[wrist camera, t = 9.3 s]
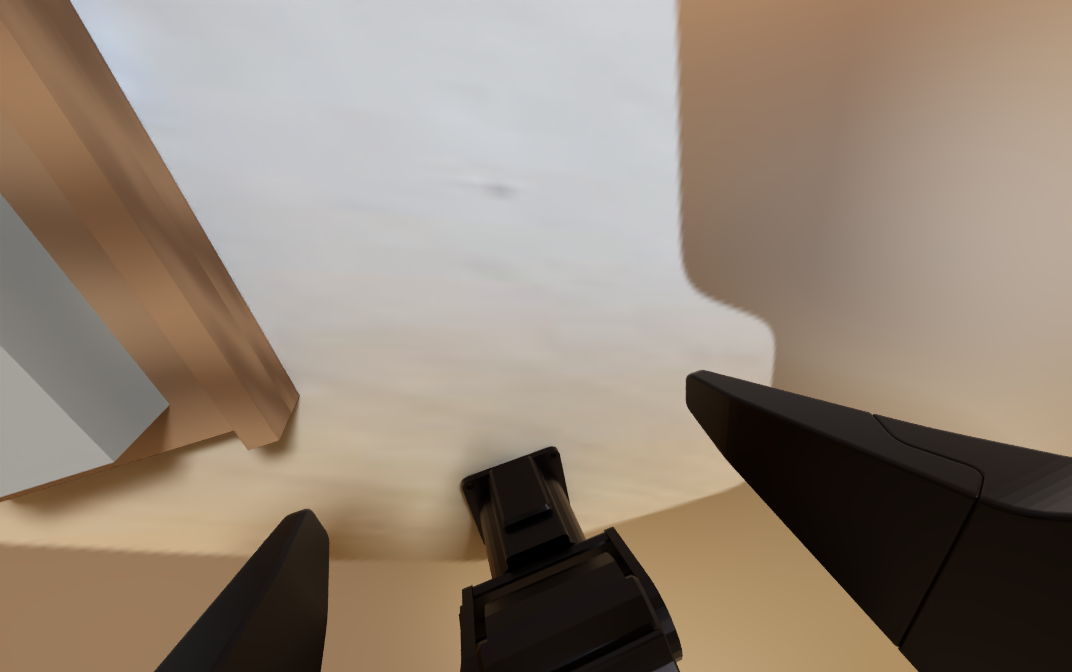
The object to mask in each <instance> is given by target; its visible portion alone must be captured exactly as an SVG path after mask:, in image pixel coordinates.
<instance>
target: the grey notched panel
mask: <svg viewBox="0 0 1072 672" xmlns="http://www.w3.org/2000/svg"><path fill="white" fill-rule="evenodd" d="M169 405H170V404H169V403H168V402H167V401H166V399H165V398H164V397H163V396H162V394H161V393H160V392H159V391H158V389H157V388H156V387H155V386H154V384H153V383H152V382H151V381H150V379H149V378H148V377H147V376H146V374H145V373H144V372H143V371H142V369H141V368H140V367H139V366H138V364H137V363H136V362H135V361H134V359H133V358H132V357H131V356H130V354H129V353H128V352H127V351H126V349H125V348H124V347H123V346H122V344H121V343H120V342H119V341H118V339H117V338H116V337H115V336H114V334H113V333H112V332H111V331H110V329H109V328H108V327H107V326H106V324H105V323H104V322H103V321H102V319H101V318H100V317H99V316H98V314H97V313H96V312H95V311H94V309H93V308H92V307H91V306H90V304H89V303H88V302H87V301H86V299H85V298H84V297H83V296H82V294H81V293H80V292H79V291H78V289H77V288H76V287H75V286H74V284H73V283H72V282H71V281H70V279H69V278H68V277H67V276H66V274H65V273H64V272H63V271H62V269H61V268H60V267H59V266H58V264H57V263H56V262H55V261H54V259H53V258H52V257H51V256H50V255H49V253H48V252H47V251H46V250H45V248H44V247H43V246H42V245H41V243H40V242H39V241H38V240H37V238H36V237H35V236H34V235H33V233H32V232H31V231H30V230H29V228H28V227H27V226H26V225H25V223H24V222H23V221H22V220H21V218H20V217H19V216H18V215H17V213H16V212H15V211H14V210H13V208H12V207H11V206H10V205H9V203H8V202H7V201H6V200H5V198H4V197H3V196H2V195H1V193H0V497H3V496H6V495H9V494H12V493H16V492H19V491H22V490H25V489H29V488H32V487H35V486H38V485H42V484H45V483H48V482H51V481H55V480H58V479H61V478H64V477H68V476H71V475H74V474H77V473H80V472H84V471H87V470H90V469H93V468H97V467H100V466H103V465H106V464H110V463H113V462H115V461H116V460H117V459H118V458H119V456H120V455H121V454H122V453H123V452H124V451H125V450H126V449H127V448H128V447H129V446H130V445H131V444H132V443H133V442H134V441H135V440H136V439H137V438H138V437H139V436H140V435H141V434H142V433H143V432H144V431H145V430H146V429H147V428H148V427H149V426H150V424H151V423H152V422H153V421H154V420H155V419H156V418H157V417H158V416H159V415H160V414H161V413H162V412H163V411H164V410H165V409H166V408H167V407H168V406H169Z"/></svg>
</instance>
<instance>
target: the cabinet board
mask: <svg viewBox="0 0 1072 672" xmlns="http://www.w3.org/2000/svg"><path fill="white" fill-rule="evenodd" d="M0 193H1V195H2V196H3V197H4V198H5V200H6V201H7V202H8V203H9V205H10V206H11V207H12V208H13V210H14V211H15V212H16V213H17V215H18V216H19V217H20V218H21V220H22V221H23V222H24V223H25V225H26V226H27V227H28V228H29V230H30V231H31V232H32V233H33V235H34V236H35V237H36V238H37V240H38V241H39V242H40V243H41V245H42V246H43V247H44V248H45V250H46V251H47V252H48V253H49V255H50V256H51V257H52V258H53V259H54V261H55V262H56V263H57V264H58V266H59V267H60V268H61V269H62V271H63V272H64V273H65V274H66V276H67V277H68V278H69V279H70V281H71V282H72V283H73V284H74V286H75V287H76V288H77V289H78V291H79V292H80V293H81V294H82V296H83V297H84V298H85V299H86V301H87V302H88V303H89V304H90V306H91V307H92V308H93V309H94V311H95V312H96V313H97V314H98V316H99V317H100V318H101V319H102V321H103V322H104V323H105V324H106V326H107V327H108V328H109V329H110V331H111V332H112V333H113V334H114V336H115V337H116V338H117V339H118V341H119V342H120V343H121V344H122V346H123V347H124V348H125V349H126V351H127V352H128V353H129V354H130V356H131V357H132V358H133V359H134V361H135V362H136V363H137V364H138V366H139V367H140V368H141V369H142V371H143V372H144V373H145V374H146V376H147V377H148V378H149V379H150V381H151V382H152V383H153V384H154V386H155V387H156V388H157V389H158V391H159V392H160V393H161V394H162V396H163V397H164V398H165V399H166V401H167V402H168V403H169V404H170V405H169V406H168V407H167V408H166V409H165V410H164V411H163V412H162V413H161V414H160V415H159V416H158V417H157V418H156V419H155V420H154V421H153V422H152V423H151V424H150V426H149V427H148V428H147V429H146V430H145V431H144V432H143V433H142V434H141V435H140V436H139V437H138V438H137V439H136V440H135V441H134V442H133V443H132V444H131V445H130V446H129V447H128V448H127V449H126V450H125V451H124V452H123V453H122V454H121V455H120V456H119V458H118V459H117V460H116V461H115V462H113V463H110V464H106V465H103V466H100V467H97V468H93V469H90V470H87V471H84V472H80V473H77V474H74V475H71V476H68V477H64V478H61V479H58V480H55V481H51V482H48V483H45V484H42V485H38V486H35V487H32V488H29V489H25V490H22V491H19V492H16V493H12V494H9V495H6V496H3V497H0V502H2V501H5V500H9V499H12V498H15V497H18V496H22V495H25V494H28V493H31V492H35V491H38V490H41V489H45V488H48V487H51V486H54V485H58V484H61V483H64V482H67V481H71V480H74V479H77V478H80V477H84V476H87V475H90V474H94V473H97V472H100V471H103V470H107V469H110V468H113V467H116V466H120V465H123V464H126V463H129V462H133V461H136V460H139V459H143V458H146V457H149V456H152V455H156V454H159V453H162V452H165V451H169V450H172V449H175V448H178V447H182V446H185V445H188V444H192V443H195V442H198V441H201V440H205V439H208V438H211V437H214V436H218V435H221V434H224V433H227V432H231V431H234V432H235V433H236V434H237V436H238V437H239V438H240V440H241V441H242V443H243V444H244V445H245V447H246V448H247V450H251V449H254V448H257V447H260V446H263V445H266V444H269V443H273V442H276V441H279V439H280V437H281V435H282V433H283V430H284V428H285V426H286V424H287V422H288V420H289V417H290V415H291V413H292V411H293V409H294V407H295V404H296V402H297V400H298V398H299V396H300V395H299V394H298V392H297V390H296V388H295V387H294V385H293V383H292V382H291V380H290V378H289V376H288V375H287V373H286V371H285V369H284V368H283V366H282V364H281V363H280V361H279V359H278V357H277V356H276V354H275V352H274V351H273V349H272V347H271V345H270V344H269V342H268V340H267V339H266V337H265V335H264V333H263V332H262V330H261V328H260V327H259V325H258V323H257V321H256V320H255V318H254V316H253V314H252V313H251V311H250V309H249V308H248V306H247V304H246V302H245V301H244V299H243V297H242V296H241V294H240V292H239V290H238V289H237V287H236V285H235V284H234V282H233V280H232V278H231V277H230V275H229V273H228V272H227V270H226V268H225V266H224V265H223V263H222V261H221V259H220V258H219V256H218V254H217V253H216V251H215V249H214V247H213V246H212V244H211V242H210V241H209V239H208V237H207V235H206V234H205V232H204V230H203V229H202V227H201V225H200V223H199V222H198V220H197V218H196V217H195V215H194V213H193V211H192V210H191V208H190V206H189V204H188V203H187V201H186V199H185V198H184V196H183V194H182V192H181V191H180V189H179V187H178V186H177V184H176V182H175V180H174V179H173V177H172V175H171V174H170V172H169V170H168V168H167V167H166V165H165V163H164V162H163V160H162V158H161V156H160V155H159V153H158V151H157V149H156V148H155V146H154V144H153V143H152V141H151V139H150V137H149V136H148V134H147V132H146V131H145V129H144V127H143V125H142V124H141V122H140V120H139V119H138V117H137V115H136V113H135V112H134V110H133V108H132V107H131V105H130V103H129V101H128V100H127V98H126V96H125V94H124V93H123V91H122V89H121V88H120V86H119V84H118V82H117V81H116V79H115V77H114V76H113V74H112V72H111V70H110V69H109V67H108V65H107V64H106V62H105V60H104V58H103V57H102V55H101V53H100V52H99V50H98V48H97V46H96V45H95V43H94V41H93V39H92V38H91V36H90V34H89V33H88V31H87V29H86V27H85V26H84V24H83V22H82V21H81V19H80V17H79V15H78V14H77V12H76V10H75V9H74V7H73V5H72V3H71V2H70V0H0Z"/></svg>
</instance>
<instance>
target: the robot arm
mask: <svg viewBox="0 0 1072 672" xmlns="http://www.w3.org/2000/svg"><path fill="white" fill-rule="evenodd" d="M686 404H687V407H688V409H689V410H690V412H691V413H692V414H693V416H694V417H695V419H696V420H697V421H698V423H699V424H700V425H701V427H702V428H703V429H704V431H705V432H706V433H707V435H708V436H709V437H710V439H711V440H712V442H713V443H714V444H715V446H716V447H717V448H718V450H719V451H720V452H721V453H722V455H723V456H724V457H725V459H726V460H727V461H728V462H729V463H730V464H731V465H732V467H733V468H734V469H735V470H736V471H737V472H738V473H739V474H740V475H741V476H742V478H743V479H744V480H745V481H746V482H747V483H748V484H749V485H750V486H751V487H752V488H753V489H754V491H755V492H756V493H757V494H758V495H759V496H760V497H761V498H762V500H763V501H764V502H765V503H766V504H767V505H768V506H769V507H770V508H771V509H772V511H773V512H774V513H775V514H776V515H777V516H778V517H779V518H780V519H781V520H782V522H783V523H784V524H785V525H786V526H787V527H788V528H789V529H790V530H791V531H792V533H793V534H794V535H795V536H796V537H797V538H798V539H799V540H800V541H801V542H802V543H803V545H804V546H805V547H806V548H807V549H808V550H809V551H810V552H811V553H812V555H813V556H814V557H815V558H816V559H817V560H818V561H819V562H820V563H821V564H822V565H823V567H825V569H826V570H827V571H828V572H829V573H830V574H831V575H832V577H833V578H834V579H835V580H836V581H837V582H838V583H839V584H840V585H841V586H842V587H843V589H844V590H845V591H846V592H847V593H848V594H849V595H850V596H851V598H853V600H854V601H855V602H856V603H857V604H858V605H859V606H860V607H861V609H863V611H864V612H865V613H866V614H867V615H868V616H869V617H870V618H871V619H872V621H873V622H874V623H875V624H876V625H877V626H878V627H879V628H880V629H881V630H882V631H883V633H884V634H885V635H886V636H887V637H888V638H889V639H890V640H891V641H892V643H893V644H894V645H895V646H897V647H898V649H899V651H900V652H901V653H902V654H903V655H904V656H905V657H906V658H907V660H908V661H909V662H910V663H911V664H912V665H913V666H914V667H915V668H916V669H917V670H918V672H1072V457H1068V456H1062V455H1057V454H1053V453H1048V452H1043V451H1038V450H1034V449H1029V448H1024V447H1019V446H1014V445H1009V444H1004V443H999V442H995V441H990V440H985V439H981V438H975V437H971V436H966V435H962V434H957V433H952V432H947V431H943V430H939V429H933V428H929V427H925V426H921V425H917V424H913V423H909V422H904V421H901V420H897V419H893V418H889V417H885V416H881V415H877V414H873V415H872V414H871V413H869V412H865V411H862V410H857V409H854V408H850V407H846V406H842V405H838V404H834V403H830V402H826V401H823V400H819V399H814V398H811V397H806V396H803V395H799V394H795V393H791V392H787V391H784V390H779V389H776V388H772V387H768V386H764V385H760V384H756V383H752V382H749V381H745V380H741V379H737V378H733V377H729V376H725V375H721V374H717V373H713V372H710V371H706V370H699V371H697V372H694V373H691V374H689V375H688V376H687V378H686ZM551 454H553V455H551ZM469 484H472V485H469ZM462 487H463V491H464V494H465V496H466V499H467V502H468V504H469V507H470V509H471V512H472V514H473V517H474V520H475V522H476V525H477V527H478V530H479V532H480V535H481V538H482V540H483V543H484V545H485V546H486V551H487V556H488V561H489V565H490V571H491V575H492V579H491V580H488V581H486V582H484V583H481V584H479V585H476V586H474V587H473V586H469V587H467V588H464V589H462V606H460V614H459V619H460V629H461V669H460V672H680V671H679V668H678V666H677V663H676V662H677V661H679V660H681V659H682V656H683V655H682V648H681V644H680V640H679V637H678V634H677V632H676V629H675V626H674V624H673V621H672V619H671V616H670V614H669V612H668V610H667V608H666V606H665V603H664V601H663V600H662V598H661V596H660V594H659V592H658V590H657V588H656V587H655V585H654V583H653V582H652V580H651V579H650V577H649V576H648V575H647V573H646V572H645V570H644V569H643V567H642V566H641V565H640V563H639V562H638V561H637V559H636V558H635V556H634V555H633V554H632V552H631V551H630V549H629V548H628V547H627V545H626V544H625V542H624V541H623V540H622V538H621V537H620V535H619V534H618V533H617V531H616V530H615V529H614V527H611V528H608V529H606V530H604V532H603V533H601V534H598V535H596V536H594V537H591V538H589V539H587V540H586V538H585V536H584V534H583V532H582V530H581V528H580V525H579V523H578V521H577V519H576V517H575V515H574V512H573V510H572V508H571V506H570V502H569V497H568V492H567V487H566V482H565V477H564V472H563V468H562V463H561V458H560V454H559V452H558V450H557V448H556V447H553V446H552V447H548V448H545V449H542V450H540V451H537V452H534V453H531V454H529V455H526V456H523V457H520V458H518V459H515V460H512V461H509V462H507V463H504V464H501V465H498V466H496V467H493V468H490V469H487V470H485V471H482V472H479V473H476V474H474V475H471V476H468V477H466V478H465V479H464V480H463V481H462ZM328 579H329V537H328V534H327V532H326V530H325V529H324V527H323V526H322V524H321V523H320V521H319V520H318V518H317V517H316V515H315V514H314V513H313V511H312V510H310V509H303V510H300V511H297V512H295V513H292V514H289V515H287V516H286V517H285V518H284V519H283V520H282V521H281V523H280V524H279V525H278V526H277V527H276V528H275V530H274V531H273V532H272V533H271V534H270V536H269V537H268V538H267V539H266V540H265V541H264V543H263V544H262V545H261V546H260V547H259V548H258V550H257V551H256V552H255V553H254V554H253V556H252V557H251V558H250V559H249V560H248V561H247V563H246V564H245V565H244V566H243V567H242V569H241V570H240V571H239V572H238V573H237V574H236V576H235V577H234V578H233V579H232V580H231V582H230V583H229V584H228V585H227V586H226V588H225V589H224V590H223V591H222V592H221V593H220V595H219V596H218V597H217V598H216V599H215V600H214V602H213V603H212V604H211V605H210V606H209V608H208V609H207V610H206V611H205V612H204V613H203V615H202V616H201V617H200V618H199V619H198V621H197V622H196V623H195V624H194V625H193V626H192V627H191V629H190V630H189V631H188V632H187V633H186V635H185V636H184V637H183V638H182V639H181V640H180V642H179V643H178V644H177V645H176V646H175V648H174V649H173V650H172V651H171V652H170V653H169V655H168V656H167V657H166V658H165V659H164V661H163V662H162V663H161V664H160V665H159V666H158V668H157V669H156V670H155V671H154V672H321V665H322V657H323V650H324V642H325V634H326V625H327V612H328Z"/></svg>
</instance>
